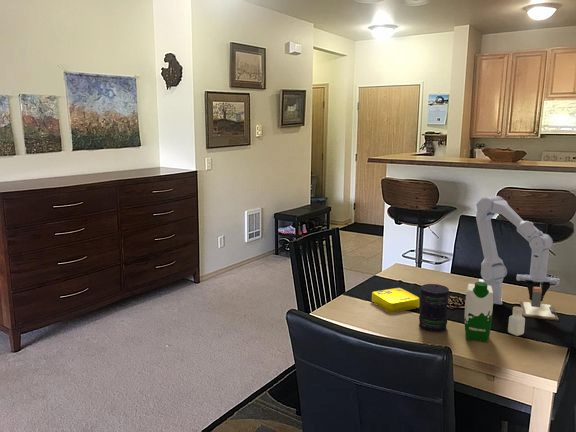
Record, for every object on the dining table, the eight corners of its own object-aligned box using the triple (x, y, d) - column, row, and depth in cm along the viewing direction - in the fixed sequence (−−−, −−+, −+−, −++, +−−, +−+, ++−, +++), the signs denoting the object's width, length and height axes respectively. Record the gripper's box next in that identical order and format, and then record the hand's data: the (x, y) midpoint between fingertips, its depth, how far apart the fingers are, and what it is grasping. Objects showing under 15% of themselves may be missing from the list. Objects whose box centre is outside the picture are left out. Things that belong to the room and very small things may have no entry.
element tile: (390, 314, 187) (390, 302, 187) (369, 301, 201) (370, 290, 200) (421, 308, 193) (421, 297, 192) (399, 296, 207) (399, 286, 206)
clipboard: (523, 316, 184) (523, 312, 184) (519, 302, 198) (520, 299, 198) (558, 320, 180) (559, 317, 179) (552, 306, 194) (552, 302, 194)
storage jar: (442, 335, 167) (445, 294, 165) (415, 329, 173) (417, 289, 170) (449, 325, 176) (452, 286, 173) (423, 319, 181) (425, 282, 178)
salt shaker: (516, 336, 166) (519, 310, 164) (507, 332, 170) (509, 307, 168) (524, 334, 168) (526, 308, 166) (514, 330, 171) (516, 305, 170)
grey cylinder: (531, 306, 183) (532, 289, 182) (530, 303, 186) (532, 286, 185) (540, 307, 182) (542, 290, 181) (539, 304, 185) (541, 287, 184)
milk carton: (463, 340, 163) (467, 284, 160) (462, 329, 172) (466, 276, 168) (491, 344, 160) (495, 287, 157) (489, 333, 169) (493, 279, 165)
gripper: (518, 266, 180) (515, 300, 183) (562, 270, 175) (558, 305, 178) (517, 262, 187) (514, 295, 189) (559, 265, 182) (555, 299, 184)
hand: (535, 299), depth 184 cm, fingers closed on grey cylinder, 3 cm apart
